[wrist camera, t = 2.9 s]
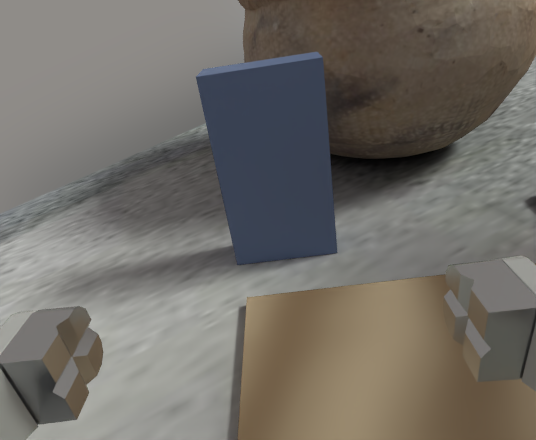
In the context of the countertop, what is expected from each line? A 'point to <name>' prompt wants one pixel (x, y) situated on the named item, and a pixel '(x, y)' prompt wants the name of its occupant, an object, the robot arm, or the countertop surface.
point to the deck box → (272, 155)
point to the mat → (369, 370)
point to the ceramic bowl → (400, 64)
